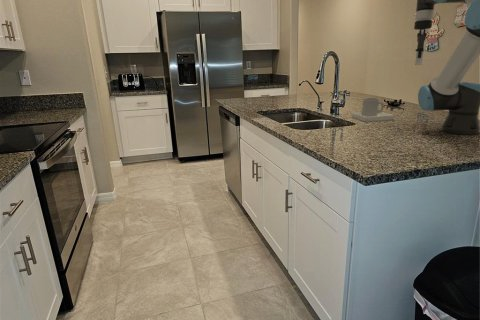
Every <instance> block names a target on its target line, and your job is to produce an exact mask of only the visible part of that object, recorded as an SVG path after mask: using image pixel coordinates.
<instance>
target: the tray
mask: <svg viewBox="0 0 480 320" xmlns="http://www.w3.org/2000/svg"><path fill="white" fill-rule="evenodd" d="M351 118H352V119H354V120H358V121H361V122H364V123H374V122H375V123H377V122H387V121H389V122H390V120H391V121H395V114H390V113H387V112H384V111H382V112H381V113H377V116H372V117H366V116H362V111H361V112H351Z"/></svg>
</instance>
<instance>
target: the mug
mask: <svg viewBox="0 0 480 320" xmlns="http://www.w3.org/2000/svg"><path fill="white" fill-rule="evenodd" d="M379 105H381V108H380V110H379ZM361 112H362V116H366V117H372V116H377V113H381V112H384V102H383V101H380V100H379V98H375V97H366V98H363V101H362V110H361Z"/></svg>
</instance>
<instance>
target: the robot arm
mask: <svg viewBox="0 0 480 320" xmlns="http://www.w3.org/2000/svg"><path fill="white" fill-rule="evenodd" d="M455 3H456V4H457V3H458V4H459V3H462V4H466V5H469V6H468V7H467V10H466V11H465V16H464V24H465V30H466V32H465V34H464V35H463V37H462V38H461V40H460V42H459V43H458V45H457V47H456V48H455V49H454V51H453V52H452V54H451V55H450V57H449V58H448V61H447V62H446V63H445V65H444V67H443V68H442V69H441V72H440V73H439V75H438V76H435V77H433V78H432V79H431V80H430V82H429V84H428V85H427V84H425V85H422V86H420V88H419V89H418V93H417V102H418V105H419V107H420V108H421V109H422V110H423V111H426V112H427V111H430V112H434V111H448V112H447V116H446V118H445V119H444V120H443V122H442V125H441V129H440V130H441V131H442V132H444V133H448V134H454V135H464V136H465V135H467V136H468V135H469V136H470V135H478V134H479V133H480V122H479V112H480V83H476V82H475V83H474V82H467V81H466V82H465V81H462V80H463V78H464V77H465V76H466V74H467V73H468V72H469V70H470V69H471V68H472V66H473V65H474V63H475V62H476V60H477V59H478V58H479V56H480V0H416V10H415V11H416V12H415V13H414V14H413V15H414V17H415V19H414V20H415V22H414V24H413V25H414V27H413V29H414V30H415V31H416V30H417V31H418V30H419V31H418V32H417V35H416V38H417V40H416V42H417V46H416V47H417V48H416V49H415V52H416V53H415V54H416V55H415V60H414V61H415V63H414V65H415V66H422V63H423V57H424V52H425V47H424V46H425V41H426V38H427V34H428V33H427V32H426V31H427V30H429V29H431V28H432V26H433V18H434V11H435V9H434V8H435V5H438V4H455Z"/></svg>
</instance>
